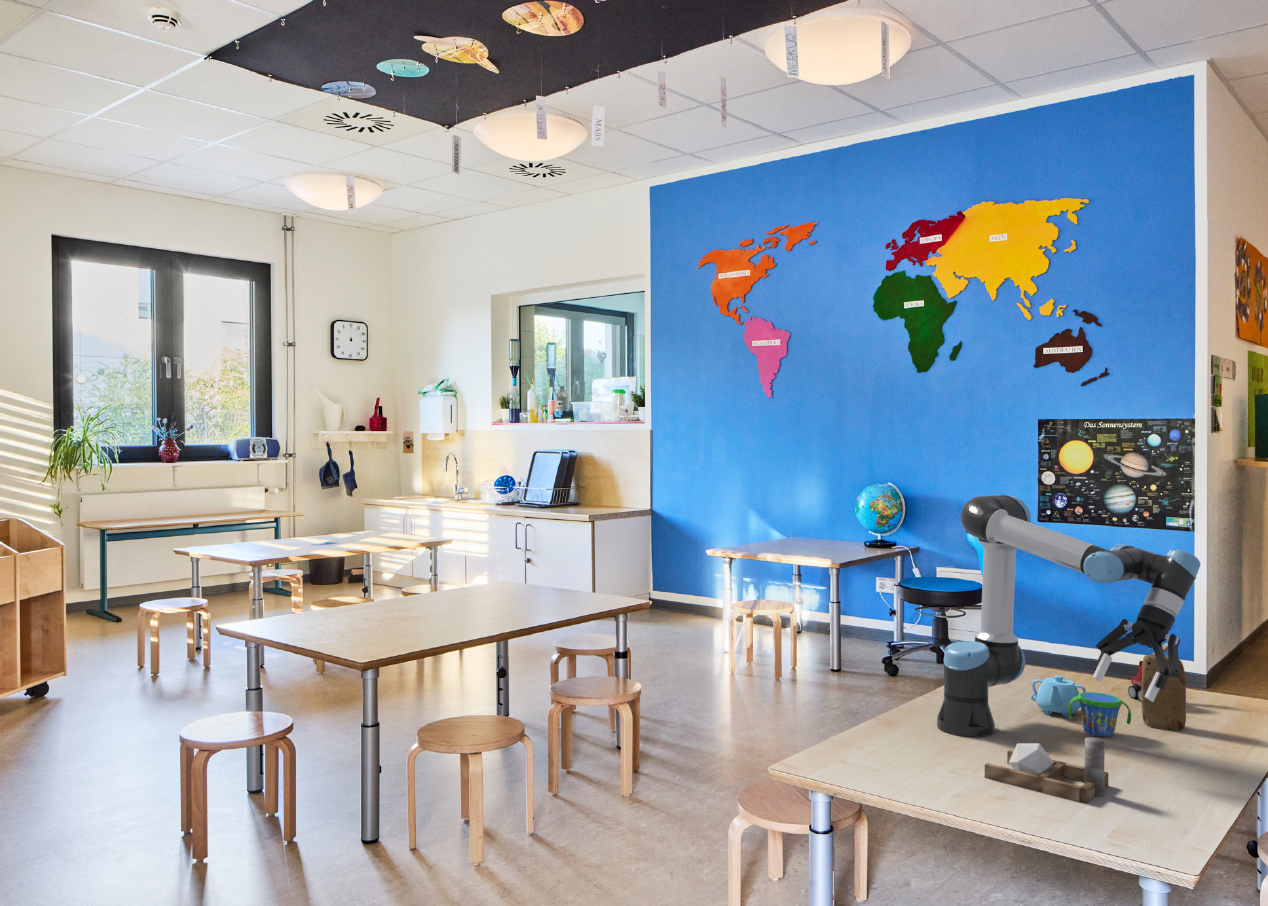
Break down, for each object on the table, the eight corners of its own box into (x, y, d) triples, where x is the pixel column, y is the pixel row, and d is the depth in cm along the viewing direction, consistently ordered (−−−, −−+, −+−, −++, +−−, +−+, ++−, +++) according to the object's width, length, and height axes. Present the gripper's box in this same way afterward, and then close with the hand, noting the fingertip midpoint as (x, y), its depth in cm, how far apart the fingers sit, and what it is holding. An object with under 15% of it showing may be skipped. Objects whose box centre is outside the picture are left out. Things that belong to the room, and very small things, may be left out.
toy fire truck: (1160, 710, 279) (1160, 651, 279) (1125, 696, 294) (1126, 640, 294) (1194, 709, 281) (1195, 650, 280) (1158, 695, 296) (1159, 640, 296)
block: (1139, 725, 263) (1139, 655, 263) (1145, 720, 268) (1146, 650, 268) (1182, 733, 256) (1183, 661, 256) (1188, 727, 261) (1189, 656, 261)
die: (1048, 792, 213) (1064, 753, 217) (1012, 770, 215) (1029, 732, 218) (1032, 792, 221) (1048, 754, 225) (998, 771, 223) (1014, 734, 226)
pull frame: (984, 777, 220) (985, 726, 220) (1009, 762, 231) (1010, 713, 231) (1092, 805, 203) (1093, 750, 203) (1114, 787, 214) (1114, 735, 214)
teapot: (1066, 708, 282) (1065, 671, 282) (1095, 719, 268) (1094, 680, 268) (1027, 710, 280) (1026, 672, 280) (1055, 721, 266) (1053, 682, 266)
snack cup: (1128, 731, 257) (1129, 695, 257) (1133, 743, 247) (1134, 704, 247) (1066, 725, 263) (1066, 689, 263) (1069, 735, 253) (1069, 698, 253)
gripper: (1218, 632, 215) (1180, 714, 213) (1120, 603, 237) (1084, 677, 235) (1203, 619, 212) (1164, 702, 209) (1105, 590, 234) (1068, 665, 231)
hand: (1122, 689), depth 222 cm, fingers open, 13 cm apart
